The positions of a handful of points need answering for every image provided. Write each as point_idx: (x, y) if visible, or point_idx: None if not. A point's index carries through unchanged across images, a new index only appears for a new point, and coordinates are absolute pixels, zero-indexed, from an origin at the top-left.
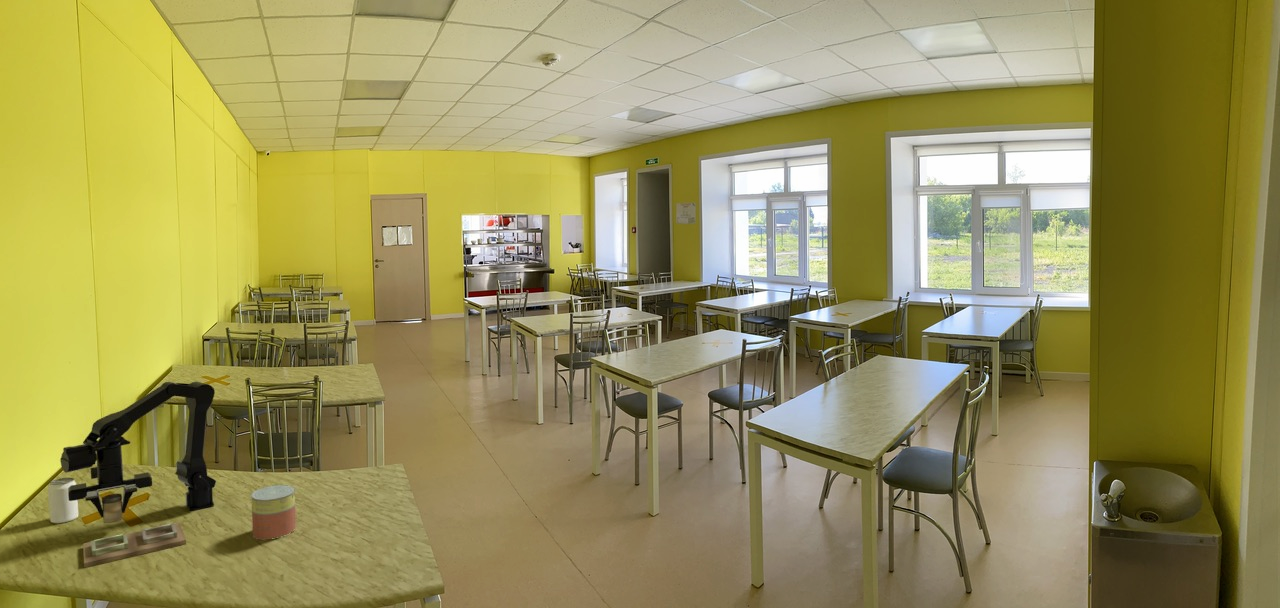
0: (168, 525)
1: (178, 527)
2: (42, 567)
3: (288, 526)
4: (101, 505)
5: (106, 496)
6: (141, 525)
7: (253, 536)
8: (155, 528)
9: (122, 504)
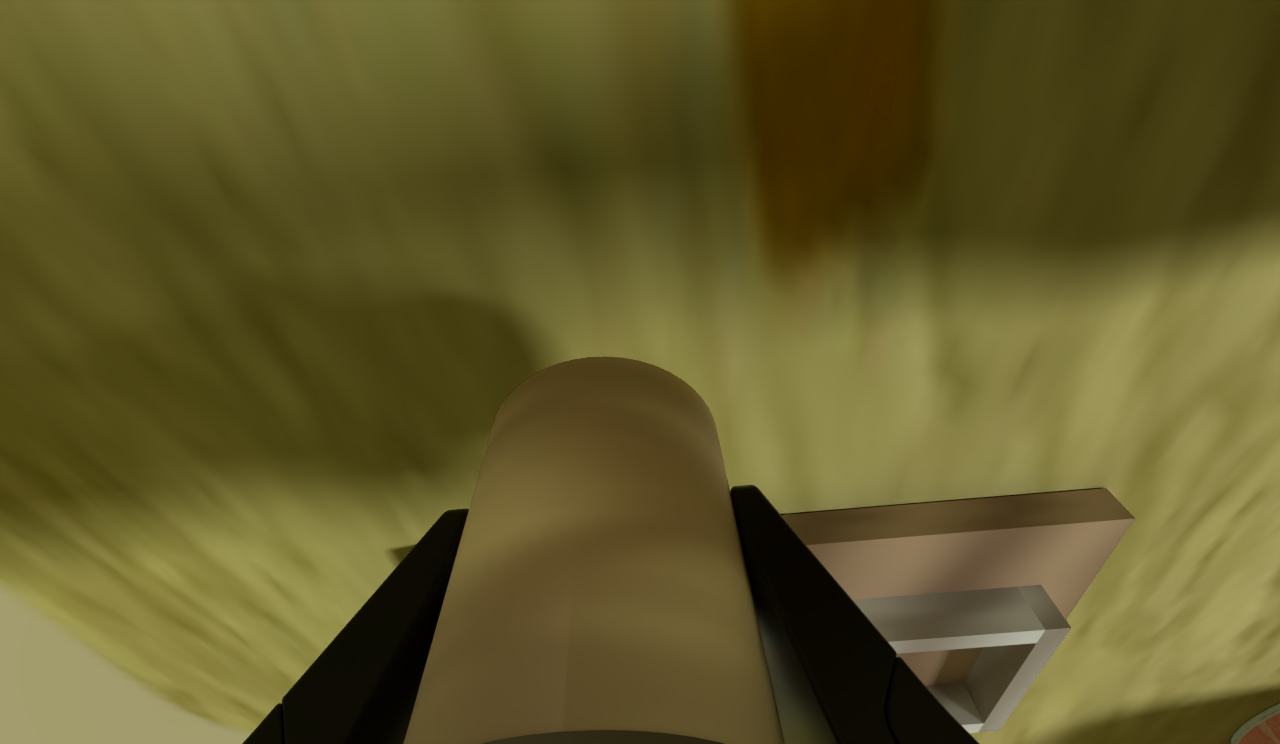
0: (1018, 640)
1: (1067, 590)
2: (282, 671)
3: None
4: (387, 685)
5: None
6: (871, 301)
7: (1244, 733)
8: (922, 646)
9: (770, 646)
